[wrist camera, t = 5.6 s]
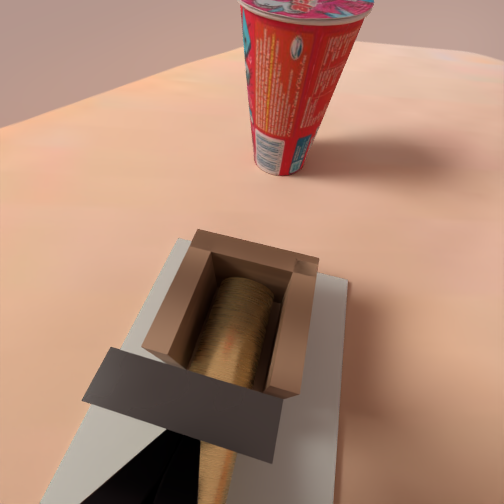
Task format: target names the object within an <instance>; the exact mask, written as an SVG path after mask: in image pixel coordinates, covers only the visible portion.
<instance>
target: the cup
mask: <svg viewBox="0 0 504 504" xmlns="http://www.w3.org/2000/svg"><path fill="white" fill-rule="evenodd" d="M238 2H239V4H240V7H241V17H242V30H243V42H244V54H245V66H246V78H247V89H248V100H249V111H250V121H251V131H252V142H253V152H254V161H255V163H256V165H257V166H258V167H259V168H260V169H261V170H263V171H265V172H267V173H269V174H273V175H280V176H284V175H290V174H293V173H296V172H298V171H299V170H300V169H301V168H302V167H303V165H304V162H305V160H306V158H307V155H308V153H309V150H310V148H311V146H312V143H313V141H314V138H315V136H316V134H317V131H318V129H319V126H320V124H321V122H322V119H323V117H324V114H325V112H326V109H327V107H328V105H329V102H330V100H331V97H332V95H333V92H334V90H335V88H336V85H337V83H338V80H339V78H340V76H341V73H342V71H343V68H344V66H345V64H346V61H347V59H348V56H349V54H350V52H351V49H352V47H353V44H354V42H355V40H356V37H357V35H358V33H359V30H360V28H361V25H362V23H363V20H364V18H365V17H366V16H368V14H369V13H370V12H371V10H372V7H373V5H374V0H238Z"/></svg>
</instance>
